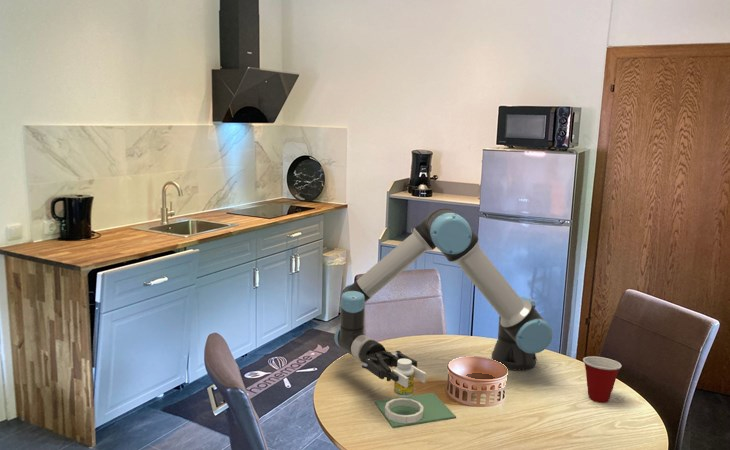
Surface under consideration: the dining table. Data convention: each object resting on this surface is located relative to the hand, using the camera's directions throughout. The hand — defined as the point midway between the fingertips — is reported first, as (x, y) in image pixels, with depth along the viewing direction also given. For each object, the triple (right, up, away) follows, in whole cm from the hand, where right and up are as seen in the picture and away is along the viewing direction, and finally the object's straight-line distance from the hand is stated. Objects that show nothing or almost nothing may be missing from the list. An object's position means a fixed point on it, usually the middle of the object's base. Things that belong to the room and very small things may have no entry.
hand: (415, 380), depth 155 cm
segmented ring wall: (-3, -12, +6) cm, 14 cm away
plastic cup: (+57, -11, +19) cm, 61 cm away
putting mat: (0, -11, +10) cm, 15 cm away
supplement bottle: (-3, -5, +5) cm, 8 cm away
